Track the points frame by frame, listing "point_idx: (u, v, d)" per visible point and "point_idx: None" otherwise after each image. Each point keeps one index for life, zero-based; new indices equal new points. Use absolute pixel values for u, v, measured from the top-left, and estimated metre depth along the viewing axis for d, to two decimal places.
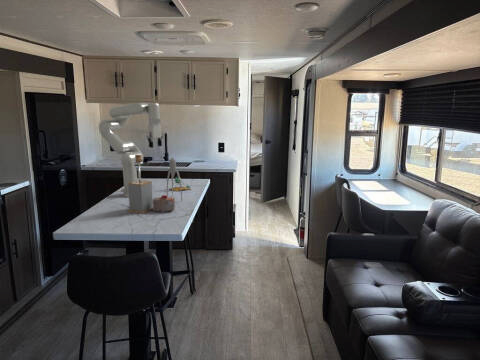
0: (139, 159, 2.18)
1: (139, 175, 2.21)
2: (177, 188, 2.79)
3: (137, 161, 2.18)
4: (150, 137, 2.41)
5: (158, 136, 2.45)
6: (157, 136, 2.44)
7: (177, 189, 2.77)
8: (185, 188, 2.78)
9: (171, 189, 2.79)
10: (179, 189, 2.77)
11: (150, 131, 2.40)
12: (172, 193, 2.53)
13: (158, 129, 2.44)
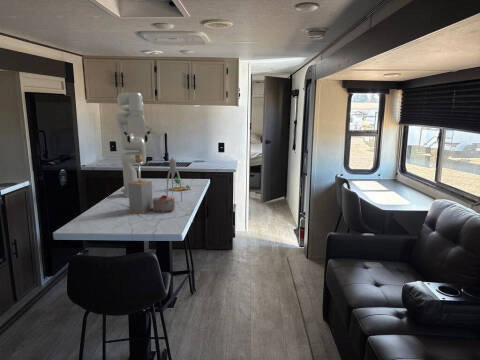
0: (139, 159, 2.18)
1: (139, 175, 2.21)
2: (177, 188, 2.80)
3: (137, 161, 2.18)
4: None
5: None
6: None
7: (177, 189, 2.78)
8: (185, 188, 2.78)
9: (171, 189, 2.79)
10: (179, 189, 2.77)
11: None
12: (172, 193, 2.53)
13: None
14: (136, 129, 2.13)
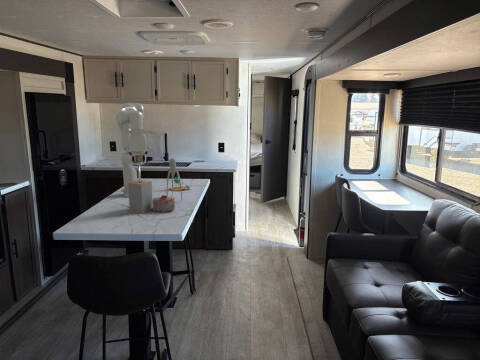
0: (139, 159, 2.18)
1: (139, 175, 2.21)
2: (176, 188, 2.80)
3: (137, 161, 2.18)
4: (144, 151, 2.19)
5: None
6: None
7: (176, 189, 2.78)
8: (184, 188, 2.79)
9: (170, 189, 2.79)
10: (178, 189, 2.77)
11: None
12: (172, 193, 2.53)
13: None
14: (137, 148, 2.15)
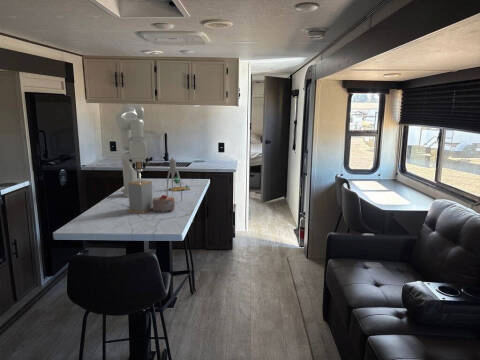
0: (139, 166, 2.19)
1: (139, 182, 2.22)
2: (176, 188, 2.80)
3: (137, 168, 2.19)
4: (144, 157, 2.20)
5: None
6: None
7: (176, 189, 2.78)
8: (184, 188, 2.79)
9: (170, 189, 2.79)
10: (178, 189, 2.77)
11: None
12: (172, 193, 2.53)
13: None
14: (137, 155, 2.16)
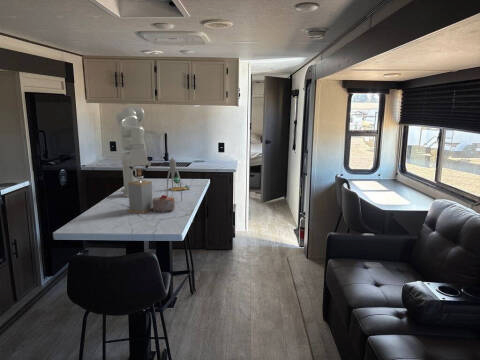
0: (140, 173, 2.20)
1: None
2: (176, 188, 2.80)
3: (138, 175, 2.20)
4: (144, 165, 2.21)
5: None
6: None
7: (176, 189, 2.78)
8: (184, 188, 2.79)
9: (170, 189, 2.79)
10: (178, 189, 2.77)
11: None
12: (172, 193, 2.53)
13: None
14: (138, 162, 2.17)
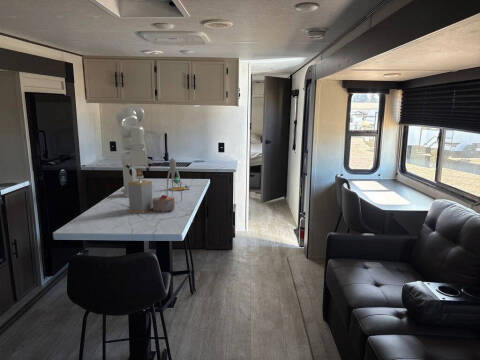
0: (140, 173, 2.20)
1: None
2: (176, 188, 2.80)
3: (138, 175, 2.20)
4: (146, 163, 2.21)
5: None
6: None
7: (176, 189, 2.78)
8: (184, 188, 2.79)
9: (170, 189, 2.79)
10: (178, 189, 2.77)
11: (146, 157, 2.21)
12: (172, 193, 2.53)
13: None
14: (138, 162, 2.17)
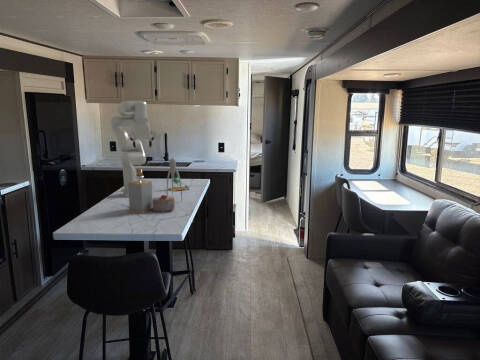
0: (140, 173, 2.20)
1: None
2: (175, 188, 2.80)
3: (138, 175, 2.20)
4: None
5: None
6: None
7: (175, 189, 2.78)
8: (183, 188, 2.79)
9: (169, 189, 2.79)
10: (177, 189, 2.77)
11: None
12: (172, 193, 2.53)
13: None
14: (141, 135, 2.29)
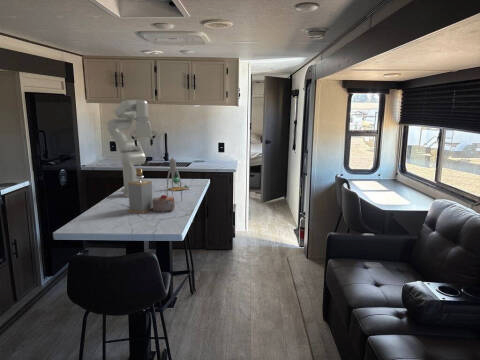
0: (140, 173, 2.20)
1: None
2: (175, 188, 2.80)
3: (138, 175, 2.20)
4: (150, 135, 2.38)
5: None
6: None
7: (175, 189, 2.78)
8: (183, 188, 2.79)
9: (169, 189, 2.79)
10: (177, 189, 2.77)
11: None
12: (172, 193, 2.53)
13: None
14: (142, 134, 2.34)
